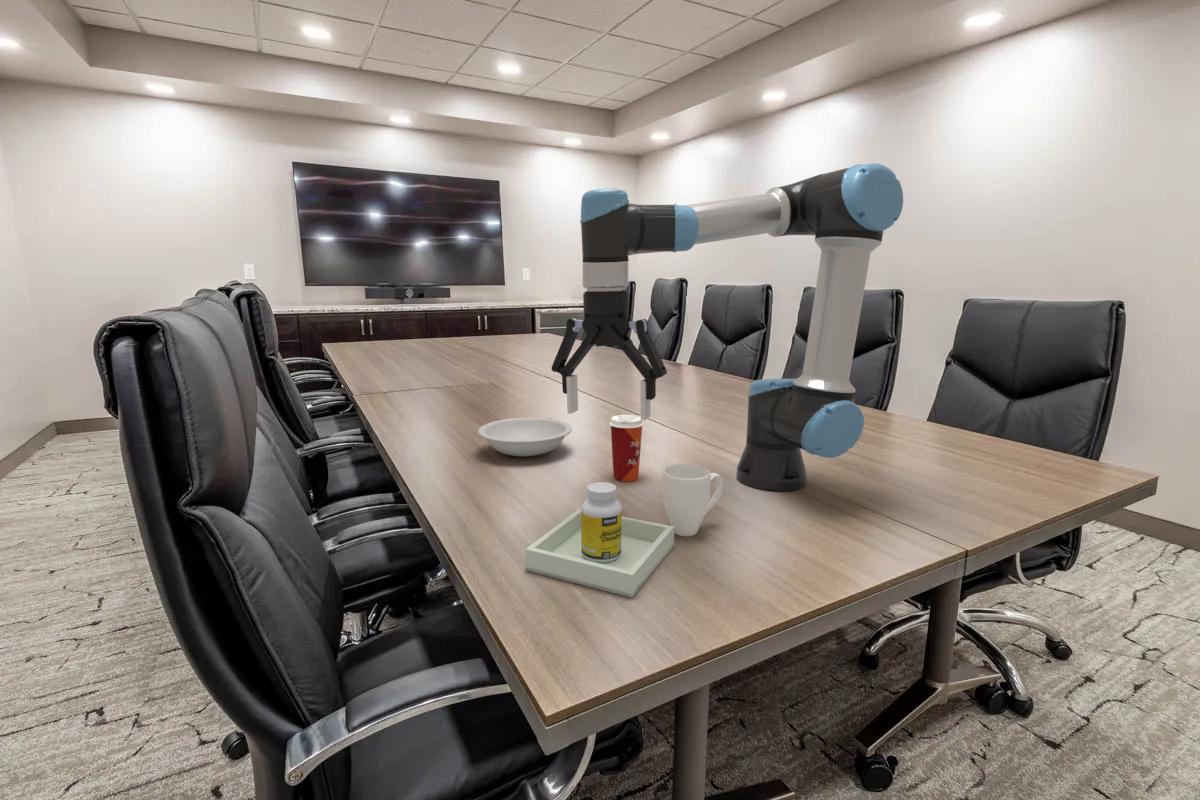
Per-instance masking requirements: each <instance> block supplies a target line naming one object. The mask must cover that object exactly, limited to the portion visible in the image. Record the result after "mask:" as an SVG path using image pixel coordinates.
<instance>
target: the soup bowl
mask: <svg viewBox="0 0 1200 800" xmlns="http://www.w3.org/2000/svg"><path fill="white" fill-rule="evenodd" d="M572 427H573V426H572V425H571V424H569V423H567V421H566V422H565V421H562V420H559V419H555V418H548V417H547V418H546V417H513V418H505V419H501V420H495V421H491V422H488V423H486V424H483V425H482V426H480V427H479V429H478V430H477V432H478V435H479V436H480V437H481V438H483V439H485V440H486V441H487V443H488V444H489V445H490V446H491V447H492V448H493V449H494V450H496V451H497V452H500V453H502V454H505V455H508V456H514V457H532V456H533V457H534V456H539V455H543V454H547V453H549V452H550V451H553V450H554V449H555V448H558V446H559V445H560V444H561V443H562V442H563V440H564V439H565V437H566V436H568V435H569V434H571V432H572V431H573V428H572Z"/></svg>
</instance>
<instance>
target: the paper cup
mask: <svg viewBox="0 0 1200 800" xmlns="http://www.w3.org/2000/svg"><path fill="white" fill-rule="evenodd" d="M608 424H609V425H610V433H611V434H610V435H611V436H610V437H611V451H612V453H611V456H612V471H613V478H614V479H615V480H616V481H619V482H625V483H628V482H635V481H637V480H639V479H638V478H639V471H640V459H641V448H642V434H643V432H642V431H643V426H644V425H645V424H644V422H643V420H641V416H639V415H633V414H619V415H614V416H612V417H611V418H610V422H609V423H608Z"/></svg>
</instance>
